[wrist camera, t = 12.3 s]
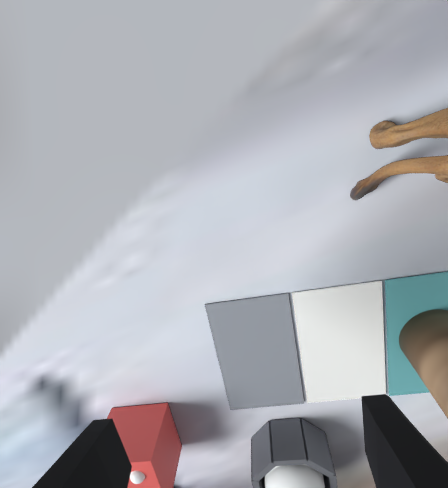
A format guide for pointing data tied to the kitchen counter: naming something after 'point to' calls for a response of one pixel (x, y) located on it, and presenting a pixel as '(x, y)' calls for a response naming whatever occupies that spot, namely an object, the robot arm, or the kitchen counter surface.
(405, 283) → the game track
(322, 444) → the dome housing
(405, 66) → the kitchen counter surface
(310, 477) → the dome cap
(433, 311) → the walnut pawn
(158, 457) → the red die
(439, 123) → the lion figurine
